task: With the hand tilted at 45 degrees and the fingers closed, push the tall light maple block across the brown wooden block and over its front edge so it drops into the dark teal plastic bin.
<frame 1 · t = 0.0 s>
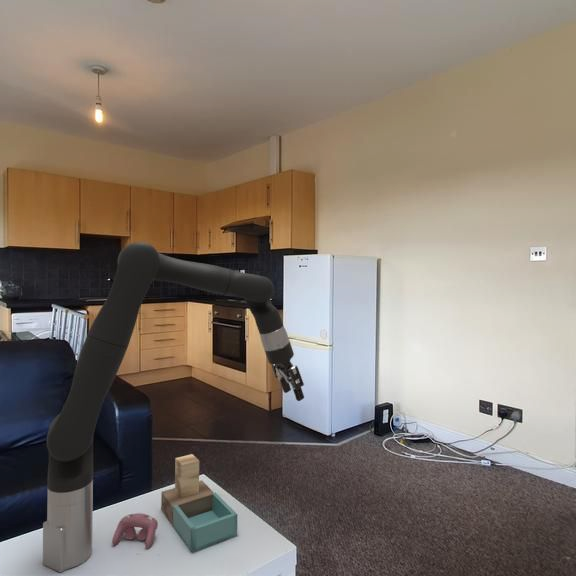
hand: (294, 395, 119), 31 cm above the table, tool tilted 20°, fingers open, 8 cm apart
pink arched piece: (135, 542, 102), on the table
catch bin: (204, 530, 106), on the table
maple block: (186, 491, 116), point 5 cm above the table, touching brown wooden block
brown wooden block: (194, 518, 112), on the table
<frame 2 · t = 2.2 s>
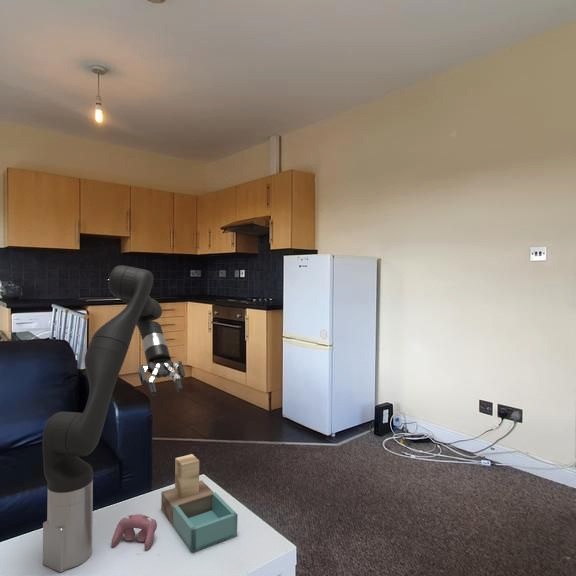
hand: (167, 392, 129), 29 cm above the table, tool tilted 45°, fingers open, 7 cm apart
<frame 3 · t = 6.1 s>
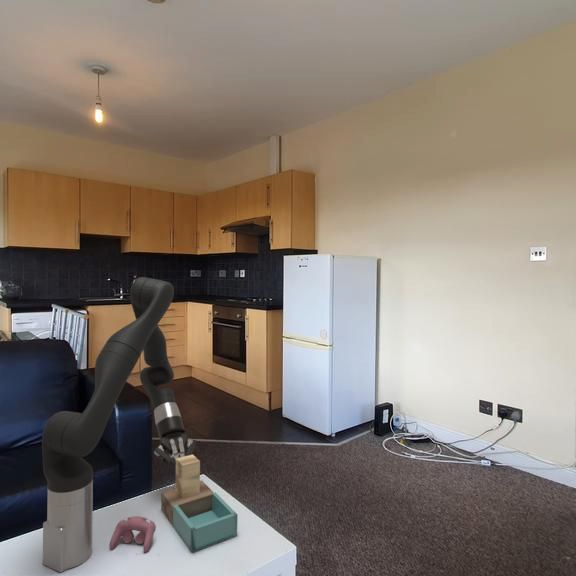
hand: (183, 476, 118), 8 cm above the table, tool tilted 45°, fingers closed
maple block: (187, 491, 116), point 5 cm above the table, touching gripper, brown wooden block
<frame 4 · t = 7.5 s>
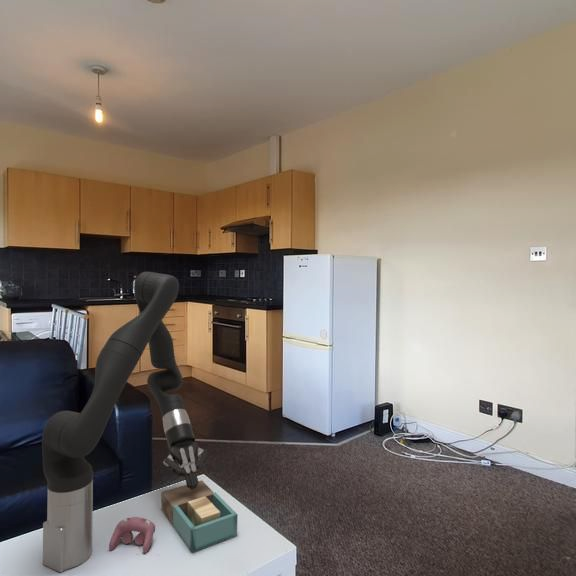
hand: (194, 487, 112), 8 cm above the table, tool tilted 45°, fingers closed
maple block: (196, 508, 111), point 3 cm above the table, tilted 90°, touching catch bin
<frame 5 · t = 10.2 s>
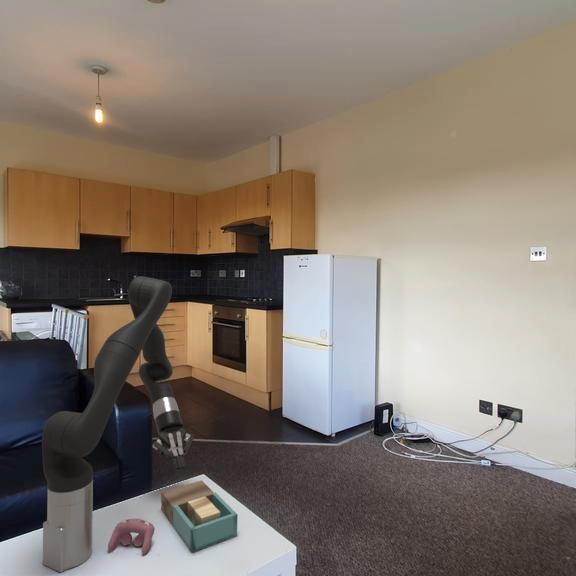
hand: (180, 469, 119), 9 cm above the table, tool tilted 45°, fingers closed
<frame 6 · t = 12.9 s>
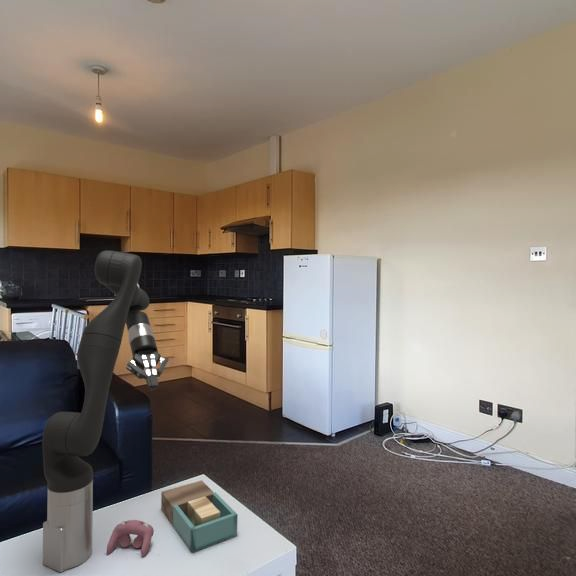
hand: (153, 388, 122), 32 cm above the table, tool tilted 45°, fingers closed
at the end: maple block 5.3 cm from the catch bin (horizontally); maple block point 3.3 cm above the table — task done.
